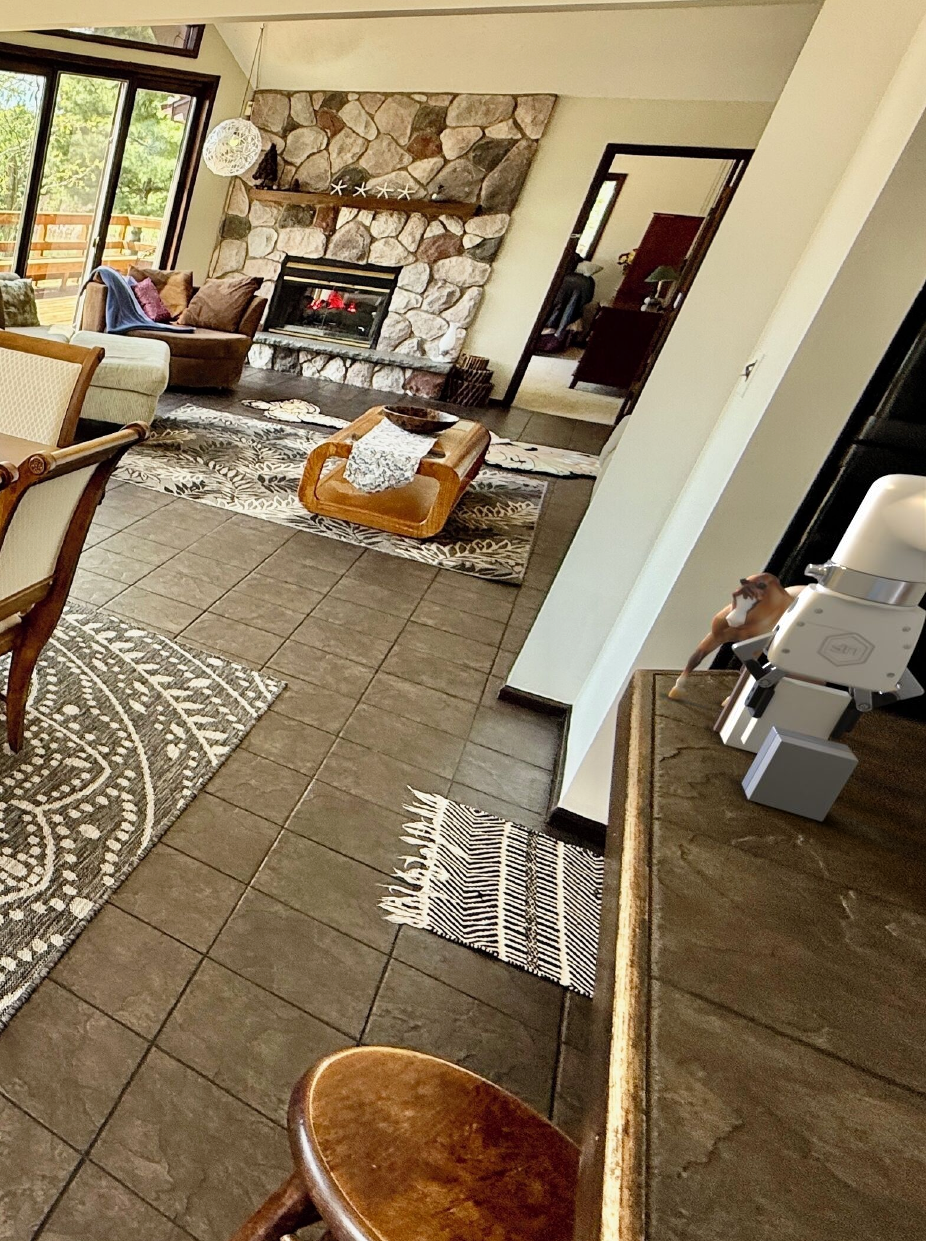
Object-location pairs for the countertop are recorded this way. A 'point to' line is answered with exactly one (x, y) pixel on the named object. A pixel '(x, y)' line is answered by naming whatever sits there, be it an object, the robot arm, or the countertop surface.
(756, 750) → the white books
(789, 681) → the white book
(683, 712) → the countertop surface
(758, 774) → the grey books
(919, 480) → the robot arm
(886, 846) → the countertop surface
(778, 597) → the horse figurine
